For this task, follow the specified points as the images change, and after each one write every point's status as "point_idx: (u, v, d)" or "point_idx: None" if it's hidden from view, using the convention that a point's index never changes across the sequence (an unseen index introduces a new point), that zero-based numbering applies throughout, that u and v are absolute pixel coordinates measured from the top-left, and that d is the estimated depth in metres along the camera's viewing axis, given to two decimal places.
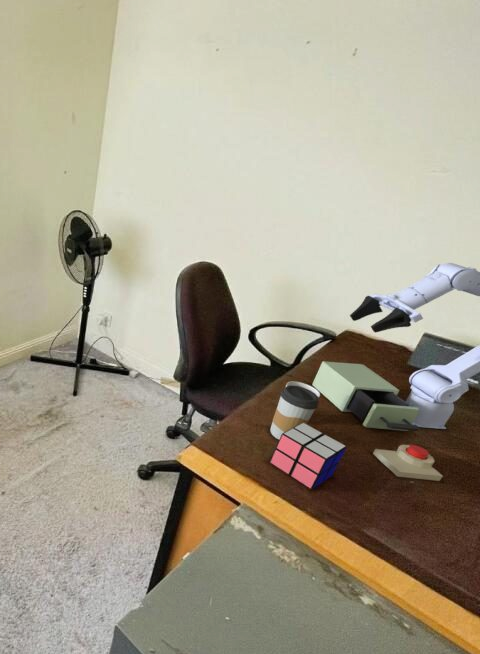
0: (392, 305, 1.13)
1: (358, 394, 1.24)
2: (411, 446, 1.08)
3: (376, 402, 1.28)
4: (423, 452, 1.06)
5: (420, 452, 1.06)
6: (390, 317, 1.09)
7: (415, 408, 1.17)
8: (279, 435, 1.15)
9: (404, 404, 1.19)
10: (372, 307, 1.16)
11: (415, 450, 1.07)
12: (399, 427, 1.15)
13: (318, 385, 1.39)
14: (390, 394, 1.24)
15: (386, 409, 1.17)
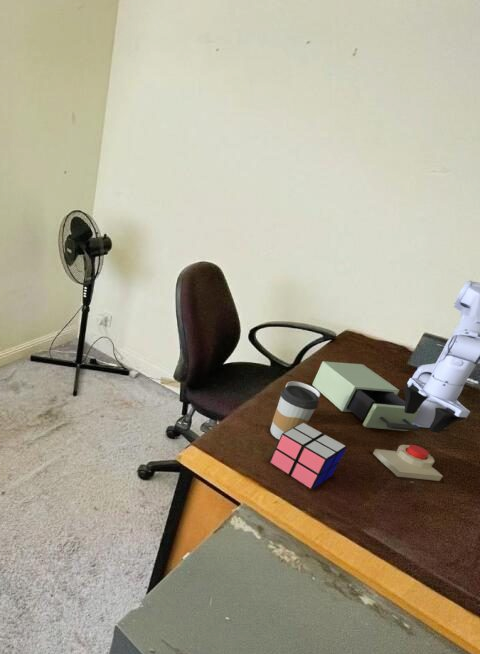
0: None
1: (358, 394, 1.24)
2: (411, 446, 1.08)
3: (376, 402, 1.28)
4: (423, 452, 1.06)
5: (420, 452, 1.06)
6: (438, 419, 1.04)
7: None
8: (279, 435, 1.15)
9: (404, 404, 1.19)
10: (418, 396, 1.11)
11: (415, 450, 1.07)
12: (399, 427, 1.15)
13: (318, 385, 1.39)
14: (390, 394, 1.24)
15: (386, 409, 1.17)
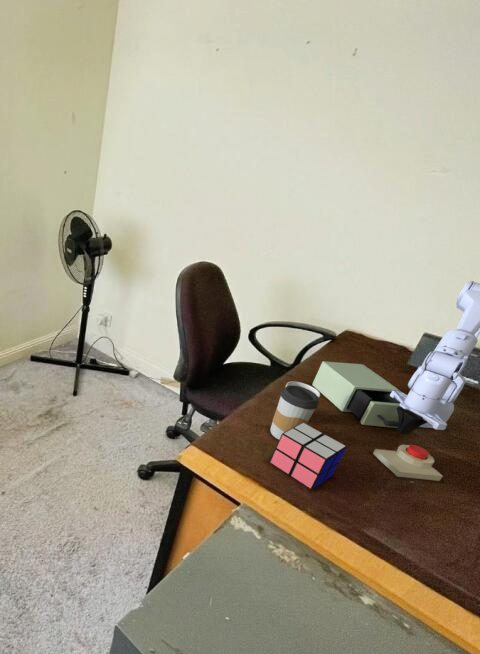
0: None
1: (355, 392, 1.25)
2: (411, 446, 1.08)
3: (373, 400, 1.29)
4: (423, 452, 1.06)
5: (420, 452, 1.06)
6: (406, 422, 1.12)
7: None
8: (279, 435, 1.15)
9: None
10: None
11: (415, 450, 1.07)
12: (396, 424, 1.16)
13: (318, 385, 1.39)
14: (387, 392, 1.25)
15: (383, 407, 1.18)
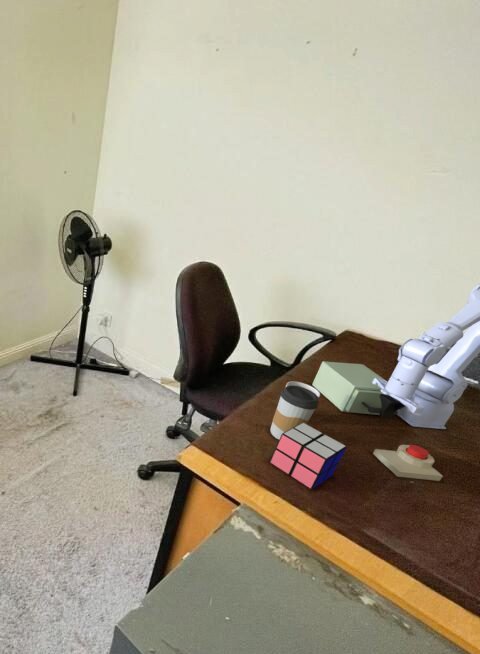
0: None
1: None
2: (411, 446, 1.08)
3: (359, 389, 1.35)
4: (423, 452, 1.06)
5: (420, 452, 1.06)
6: (386, 406, 1.19)
7: None
8: (279, 435, 1.15)
9: None
10: None
11: (415, 450, 1.07)
12: (379, 411, 1.21)
13: (318, 385, 1.39)
14: None
15: (367, 395, 1.24)
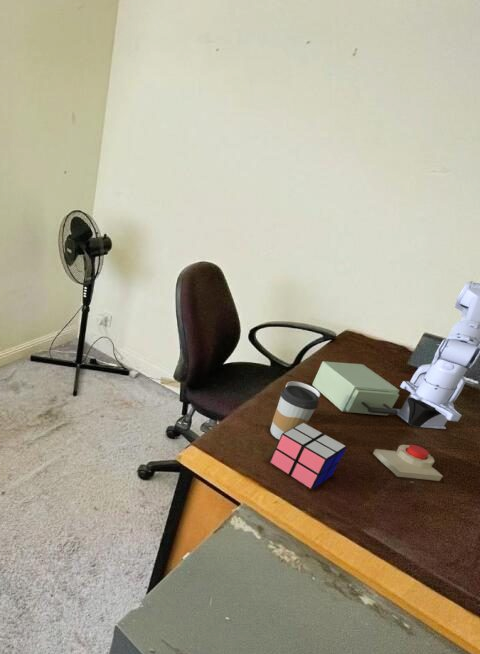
0: None
1: None
2: (411, 446, 1.08)
3: (359, 389, 1.35)
4: (423, 452, 1.06)
5: (420, 452, 1.06)
6: (418, 414, 1.07)
7: (395, 394, 1.23)
8: (279, 435, 1.15)
9: None
10: None
11: (415, 450, 1.07)
12: (379, 411, 1.21)
13: (318, 385, 1.39)
14: None
15: (367, 395, 1.24)
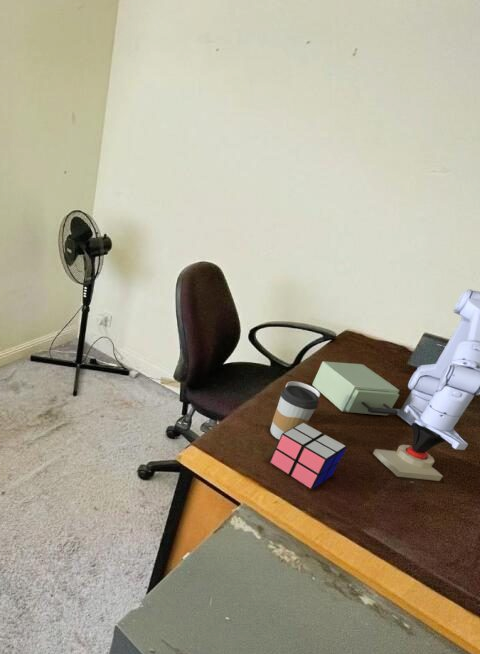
0: None
1: None
2: (410, 447, 1.08)
3: (359, 389, 1.35)
4: (422, 453, 1.06)
5: (419, 453, 1.06)
6: (423, 440, 1.04)
7: (395, 394, 1.23)
8: (279, 435, 1.15)
9: None
10: None
11: (414, 451, 1.07)
12: (379, 411, 1.21)
13: (318, 385, 1.39)
14: None
15: (367, 395, 1.24)
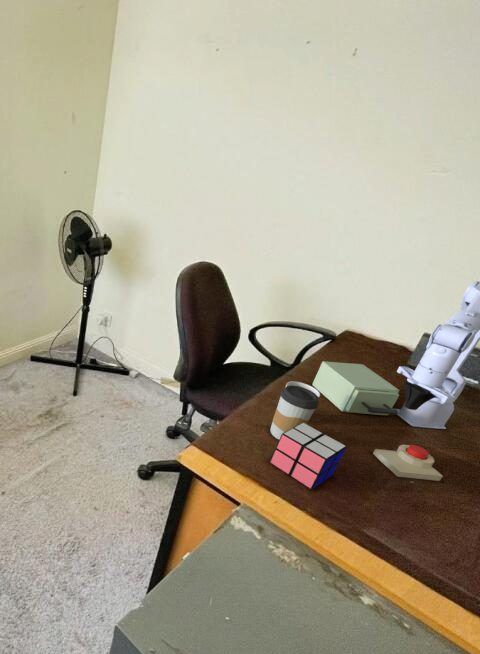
0: None
1: None
2: (411, 446, 1.08)
3: (359, 389, 1.35)
4: (423, 452, 1.06)
5: (420, 452, 1.06)
6: (414, 397, 1.11)
7: (395, 394, 1.23)
8: (279, 435, 1.15)
9: None
10: None
11: (415, 450, 1.07)
12: (379, 411, 1.21)
13: (318, 385, 1.39)
14: None
15: (367, 395, 1.24)
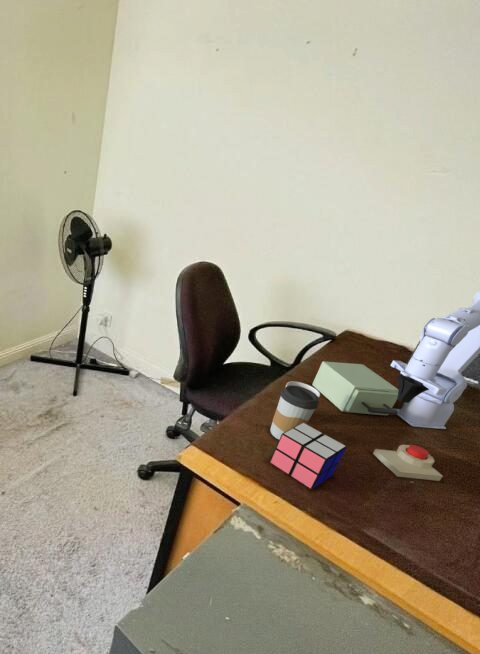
0: None
1: None
2: (411, 446, 1.08)
3: (359, 389, 1.35)
4: (423, 452, 1.06)
5: (420, 452, 1.06)
6: (407, 390, 1.14)
7: (395, 394, 1.23)
8: (279, 435, 1.15)
9: None
10: None
11: (415, 450, 1.07)
12: (379, 411, 1.21)
13: (318, 385, 1.39)
14: None
15: (367, 395, 1.24)
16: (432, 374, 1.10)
